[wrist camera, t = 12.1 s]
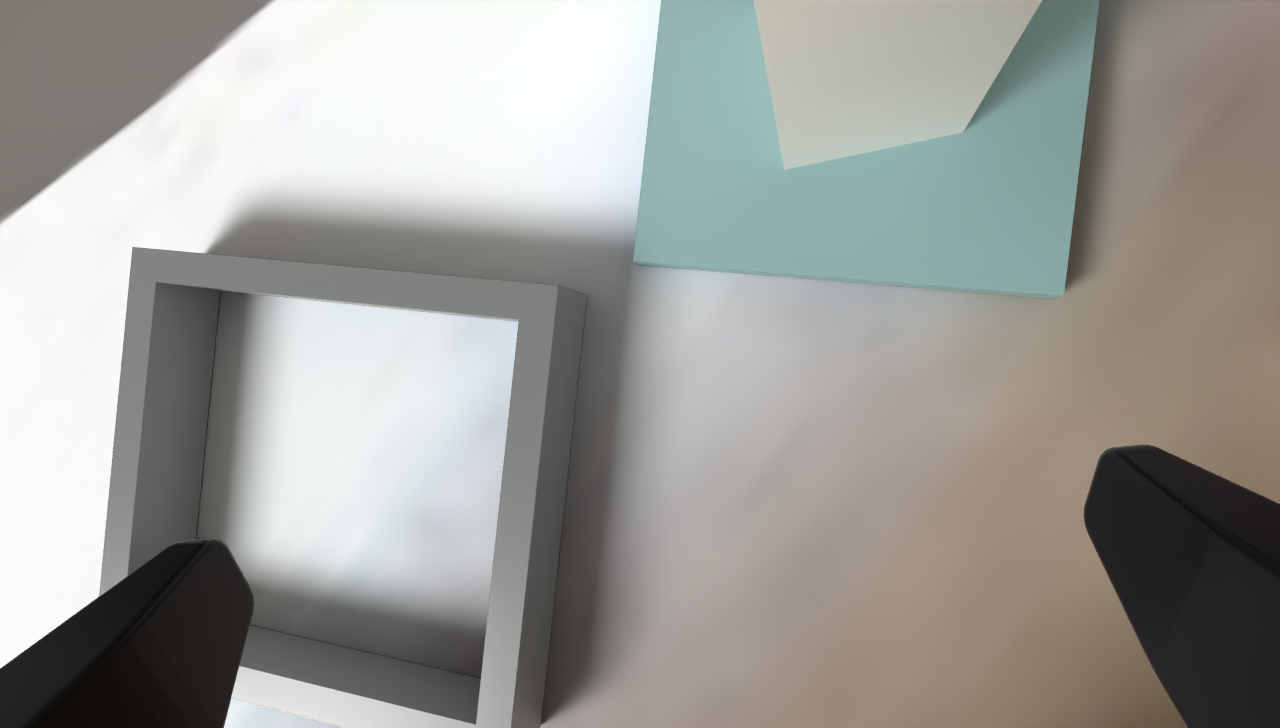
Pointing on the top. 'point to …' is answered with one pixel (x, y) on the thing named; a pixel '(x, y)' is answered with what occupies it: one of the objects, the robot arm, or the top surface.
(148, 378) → the gray square frame
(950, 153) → the teal mat
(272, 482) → the top surface
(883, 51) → the block
